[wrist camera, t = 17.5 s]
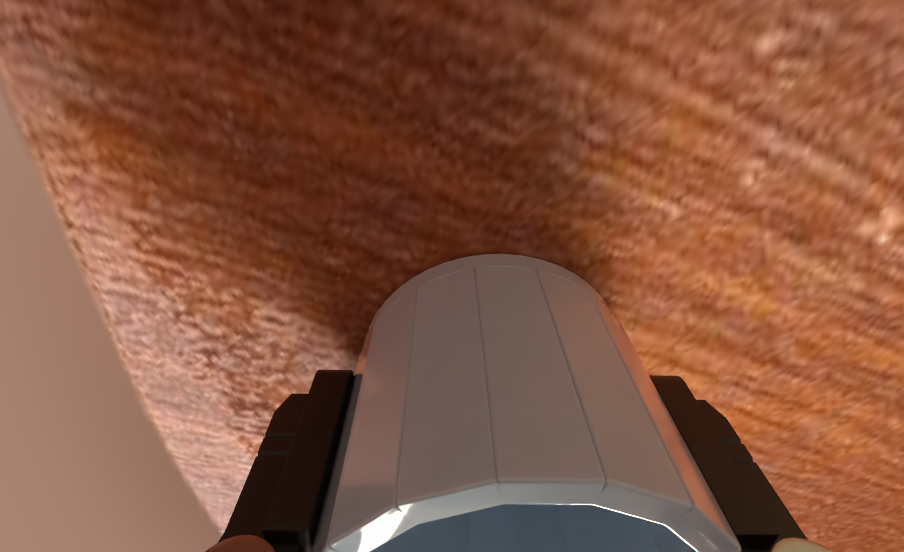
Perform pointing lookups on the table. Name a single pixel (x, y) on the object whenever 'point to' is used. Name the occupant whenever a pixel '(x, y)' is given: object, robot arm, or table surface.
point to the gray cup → (509, 426)
